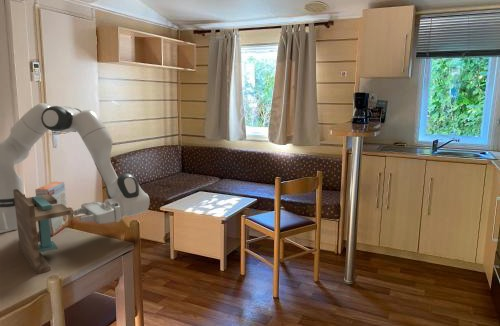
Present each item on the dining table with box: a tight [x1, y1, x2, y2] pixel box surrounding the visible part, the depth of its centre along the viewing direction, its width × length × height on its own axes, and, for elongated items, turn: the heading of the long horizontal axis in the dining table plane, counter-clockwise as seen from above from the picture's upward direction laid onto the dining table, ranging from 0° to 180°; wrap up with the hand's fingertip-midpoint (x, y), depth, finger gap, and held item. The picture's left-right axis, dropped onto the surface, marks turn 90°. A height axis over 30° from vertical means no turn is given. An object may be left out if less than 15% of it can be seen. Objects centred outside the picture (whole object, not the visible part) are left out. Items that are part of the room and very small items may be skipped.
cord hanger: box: [31, 195, 58, 254], centre depth 144 cm, size 6×16×18 cm, turn 40°
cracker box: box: [35, 181, 69, 237], centre depth 171 cm, size 14×6×21 cm, turn 178°
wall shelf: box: [13, 189, 72, 275], centre depth 144 cm, size 12×28×24 cm, turn 40°
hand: (76, 216), depth 151 cm, fingers open, 8 cm apart
